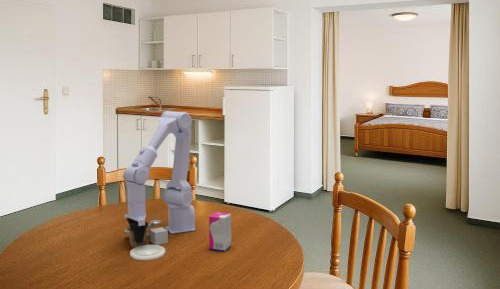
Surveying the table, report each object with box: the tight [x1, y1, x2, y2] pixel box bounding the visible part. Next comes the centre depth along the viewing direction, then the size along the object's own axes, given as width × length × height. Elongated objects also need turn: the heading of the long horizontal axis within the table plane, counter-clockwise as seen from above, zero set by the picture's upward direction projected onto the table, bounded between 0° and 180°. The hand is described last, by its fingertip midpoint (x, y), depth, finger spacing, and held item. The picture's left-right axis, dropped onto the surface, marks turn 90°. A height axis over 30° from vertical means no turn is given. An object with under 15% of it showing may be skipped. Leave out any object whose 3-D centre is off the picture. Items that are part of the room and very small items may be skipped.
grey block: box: [149, 226, 169, 246], centre depth 155 cm, size 4×4×4 cm
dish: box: [129, 244, 166, 262], centre depth 145 cm, size 11×11×1 cm
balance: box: [124, 219, 162, 239], centre depth 161 cm, size 13×4×5 cm, turn 116°
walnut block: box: [128, 230, 147, 249], centre depth 153 cm, size 4×4×4 cm
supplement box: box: [208, 211, 232, 253], centre depth 150 cm, size 6×6×12 cm
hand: (137, 240), depth 153 cm, fingers closed on walnut block, 4 cm apart
